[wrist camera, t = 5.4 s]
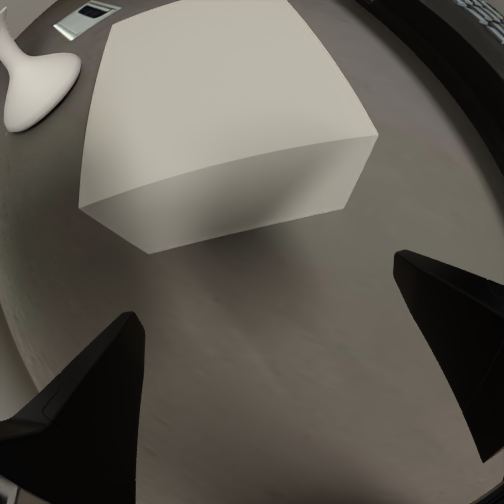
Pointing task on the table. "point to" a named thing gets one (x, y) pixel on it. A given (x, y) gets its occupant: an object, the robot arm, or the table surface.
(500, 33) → the computer keyboard
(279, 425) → the table surface
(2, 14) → the flower in vase
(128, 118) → the slab
